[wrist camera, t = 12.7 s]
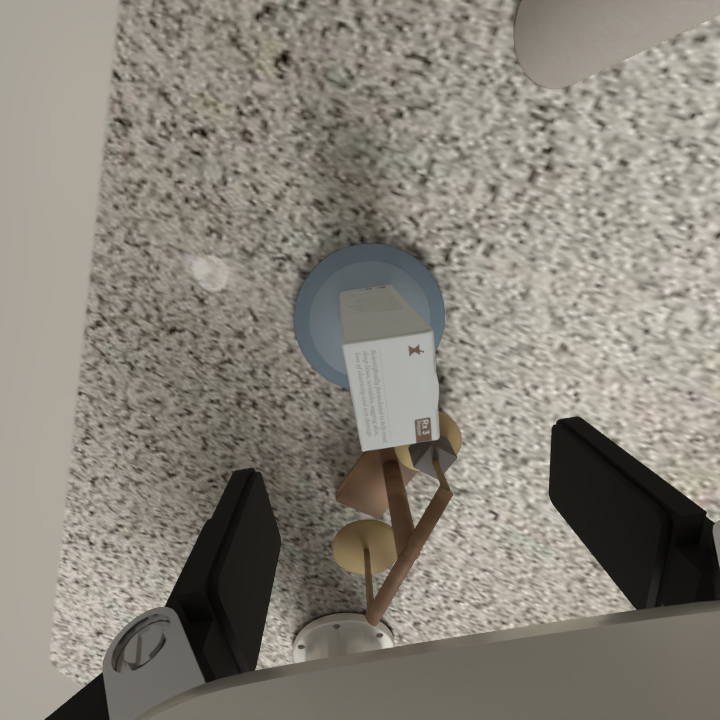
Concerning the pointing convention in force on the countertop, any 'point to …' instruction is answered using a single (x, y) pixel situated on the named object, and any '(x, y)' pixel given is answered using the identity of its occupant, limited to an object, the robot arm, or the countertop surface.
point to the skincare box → (389, 368)
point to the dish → (350, 272)
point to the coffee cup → (596, 33)
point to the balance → (392, 511)
